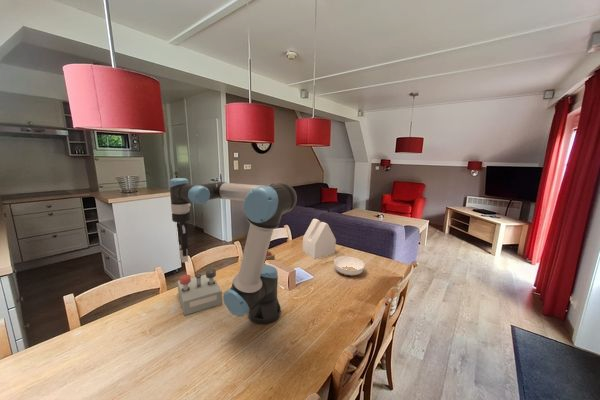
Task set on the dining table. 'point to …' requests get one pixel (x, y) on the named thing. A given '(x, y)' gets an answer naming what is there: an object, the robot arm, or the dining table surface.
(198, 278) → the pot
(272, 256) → the brown wooden crate
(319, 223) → the white house shaped block
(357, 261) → the bowl
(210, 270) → the knob black
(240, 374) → the dining table surface
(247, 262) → the robot arm
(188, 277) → the knob red
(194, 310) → the control box
